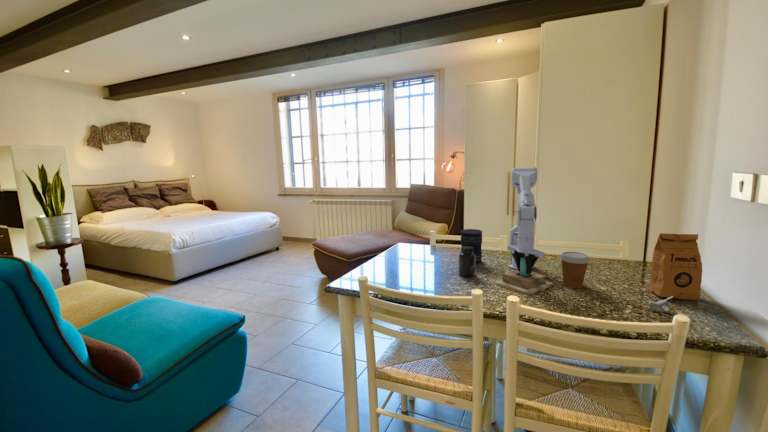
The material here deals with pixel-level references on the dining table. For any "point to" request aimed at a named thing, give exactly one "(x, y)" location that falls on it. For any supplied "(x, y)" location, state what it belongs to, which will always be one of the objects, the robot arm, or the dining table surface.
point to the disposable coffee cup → (574, 268)
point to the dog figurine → (660, 304)
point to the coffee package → (676, 267)
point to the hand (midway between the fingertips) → (524, 272)
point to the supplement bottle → (467, 262)
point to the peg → (523, 267)
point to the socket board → (524, 291)
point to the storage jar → (473, 242)
